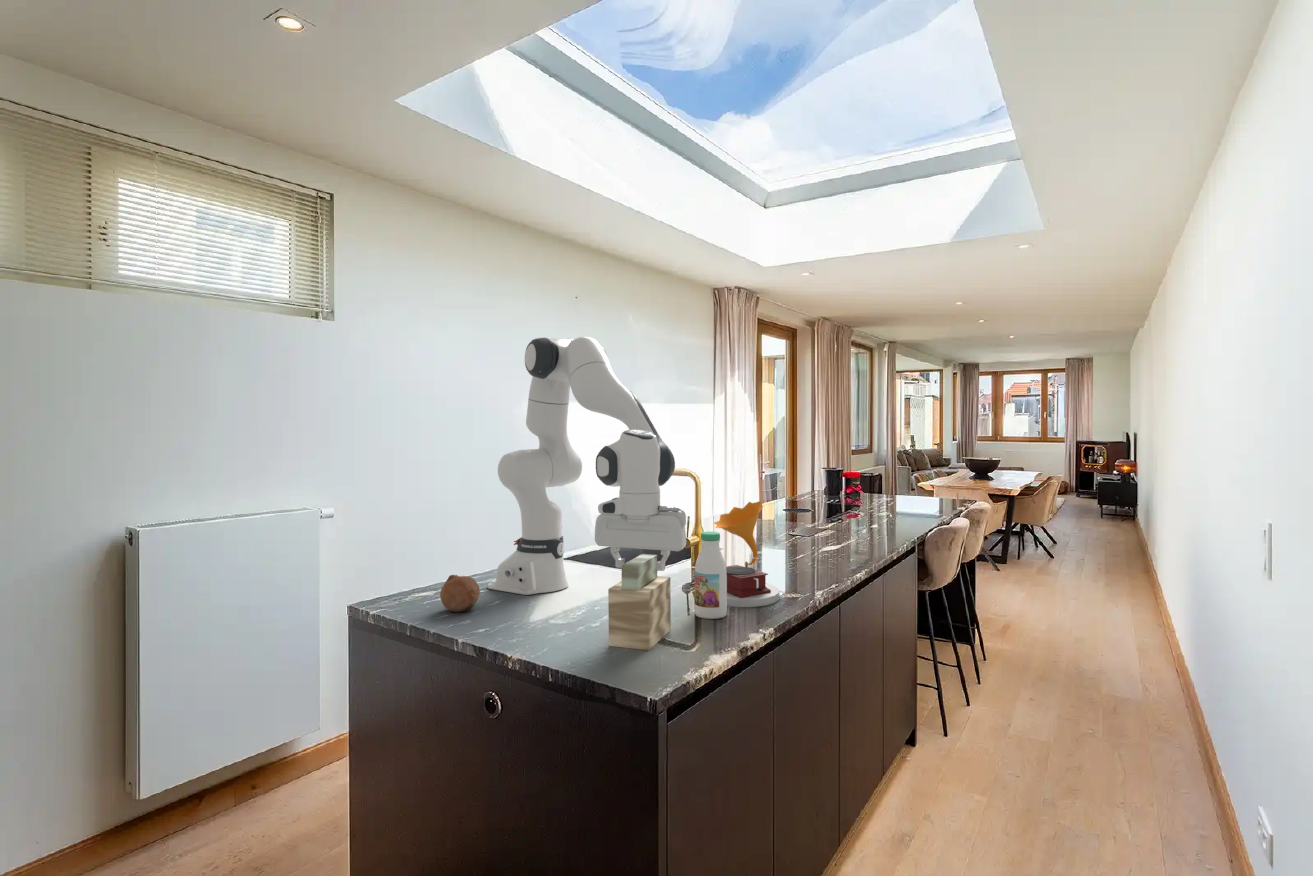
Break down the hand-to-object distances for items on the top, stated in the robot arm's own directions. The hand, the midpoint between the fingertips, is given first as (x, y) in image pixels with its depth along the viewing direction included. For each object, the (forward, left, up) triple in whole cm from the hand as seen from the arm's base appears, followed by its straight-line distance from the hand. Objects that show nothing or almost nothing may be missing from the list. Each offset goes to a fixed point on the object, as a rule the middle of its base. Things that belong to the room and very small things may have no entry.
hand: (640, 568), depth 149 cm
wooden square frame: (0, 0, -15) cm, 15 cm away
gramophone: (+13, +40, -15) cm, 45 cm away
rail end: (0, 0, -7) cm, 7 cm away
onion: (-50, +5, -15) cm, 53 cm away
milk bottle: (+10, +21, -15) cm, 28 cm away
